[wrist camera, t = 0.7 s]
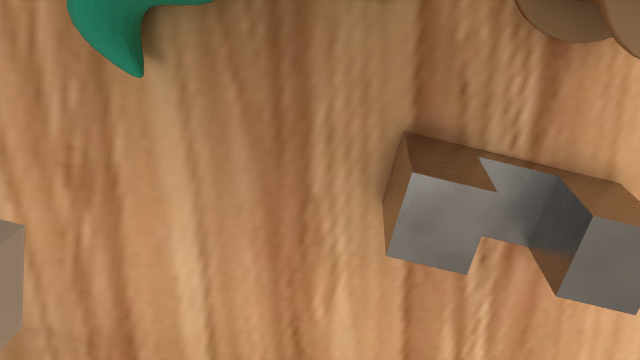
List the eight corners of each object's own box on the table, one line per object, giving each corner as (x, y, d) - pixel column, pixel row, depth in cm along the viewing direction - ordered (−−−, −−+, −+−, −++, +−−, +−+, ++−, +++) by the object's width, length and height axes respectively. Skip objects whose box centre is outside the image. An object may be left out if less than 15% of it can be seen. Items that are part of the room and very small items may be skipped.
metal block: (403, 131, 34) (412, 172, 28) (620, 183, 35) (678, 236, 28) (382, 202, 36) (385, 255, 30) (587, 251, 36) (635, 315, 30)
